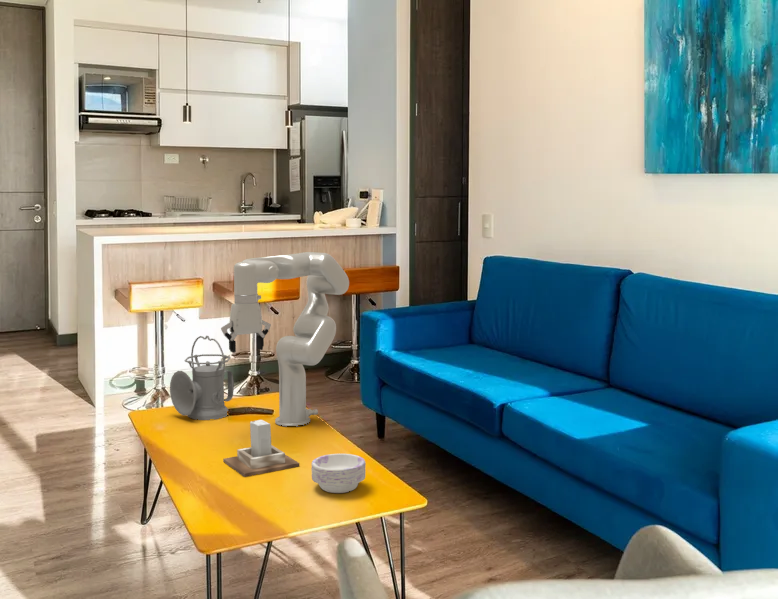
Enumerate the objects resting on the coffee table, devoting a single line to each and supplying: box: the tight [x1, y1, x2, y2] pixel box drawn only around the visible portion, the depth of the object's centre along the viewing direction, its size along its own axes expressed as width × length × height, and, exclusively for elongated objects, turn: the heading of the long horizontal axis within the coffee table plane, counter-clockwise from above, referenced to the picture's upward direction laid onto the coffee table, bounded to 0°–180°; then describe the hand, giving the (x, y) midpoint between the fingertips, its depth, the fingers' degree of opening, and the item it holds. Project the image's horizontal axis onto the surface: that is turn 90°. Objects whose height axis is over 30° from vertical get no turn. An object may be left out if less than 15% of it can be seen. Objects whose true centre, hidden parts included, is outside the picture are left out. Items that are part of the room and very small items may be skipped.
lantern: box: [169, 335, 235, 421], centre depth 302 cm, size 21×22×30 cm
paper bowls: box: [311, 453, 367, 494], centre depth 229 cm, size 15×15×8 cm
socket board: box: [222, 444, 300, 478], centre depth 249 cm, size 18×16×4 cm
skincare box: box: [249, 419, 272, 457], centre depth 248 cm, size 6×4×12 cm
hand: (246, 350), depth 270 cm, fingers open, 9 cm apart
